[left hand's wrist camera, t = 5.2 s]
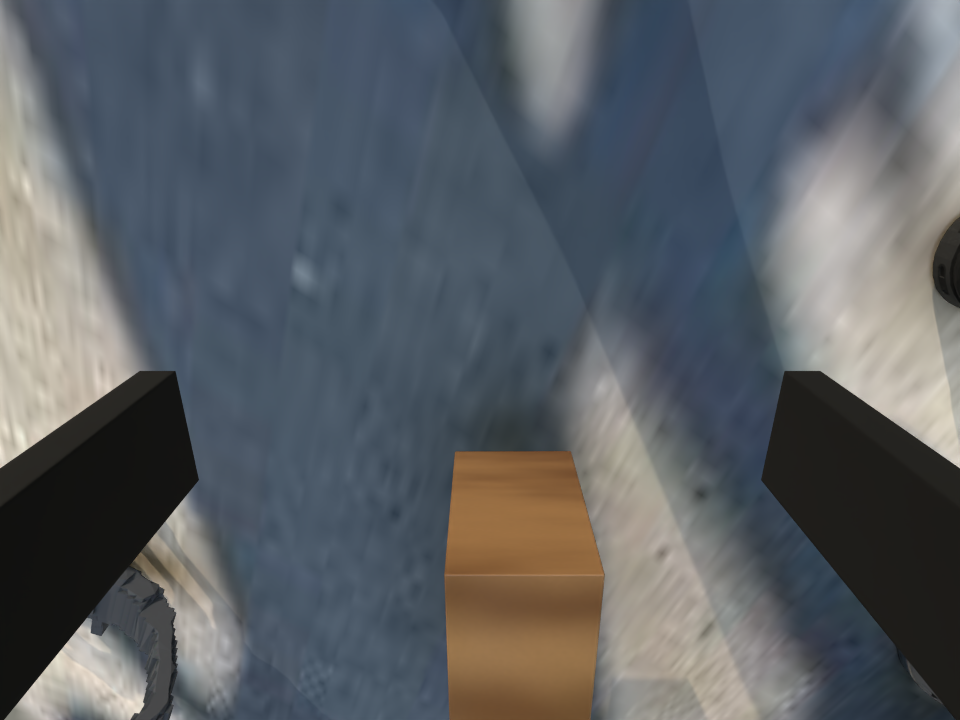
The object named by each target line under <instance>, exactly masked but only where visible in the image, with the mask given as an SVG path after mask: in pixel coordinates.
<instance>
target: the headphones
mask: <svg viewBox="0 0 960 720" xmlns="http://www.w3.org/2000/svg"><path fill="white" fill-rule="evenodd" d="M933 278H934V282H935V285H936V288H937V290H938V291H939V293H940V294H941V295H942V297H943V298H944V299H945V300H946V301H948V302H949V303H951V304H953V305H955V306H957V307H959V308H960V217H959V218H958V219H957V220H956V221H955V222H954V223H953V224H952V225H951V227H950V228H949V229H948V230H947V232H946V233H945V235H944V237H943V238H942V240H941V241H940V244H939V246H938V248H937V251H936V253H935V257H934V262H933Z"/></svg>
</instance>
